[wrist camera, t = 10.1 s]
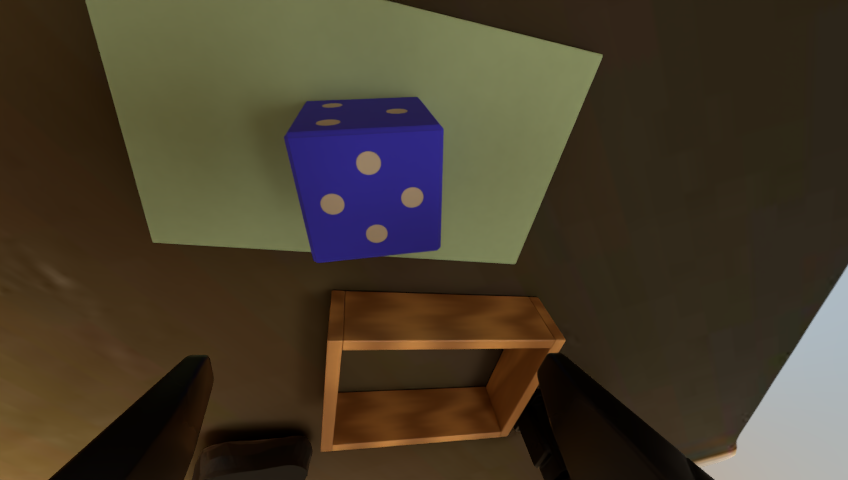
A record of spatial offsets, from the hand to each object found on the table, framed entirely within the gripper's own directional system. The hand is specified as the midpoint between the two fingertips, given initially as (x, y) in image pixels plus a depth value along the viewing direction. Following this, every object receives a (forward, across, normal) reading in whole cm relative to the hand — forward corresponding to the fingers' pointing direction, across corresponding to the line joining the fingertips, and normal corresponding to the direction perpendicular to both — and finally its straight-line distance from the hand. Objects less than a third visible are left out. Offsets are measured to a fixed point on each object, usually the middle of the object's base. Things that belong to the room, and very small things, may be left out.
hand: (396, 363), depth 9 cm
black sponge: (+11, +8, +30) cm, 32 cm away
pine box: (+11, -5, +13) cm, 17 cm away
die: (+10, +1, -2) cm, 10 cm away
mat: (+11, +1, -2) cm, 11 cm away
